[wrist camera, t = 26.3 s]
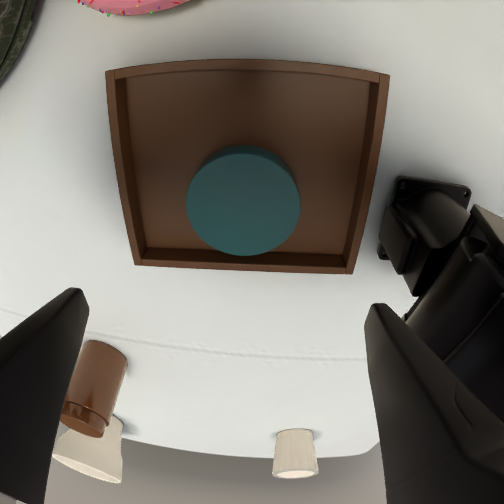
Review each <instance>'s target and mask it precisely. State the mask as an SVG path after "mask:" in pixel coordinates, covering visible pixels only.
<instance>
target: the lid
mask: <svg viewBox="0 0 504 504" xmlns="http://www.w3.org/2000/svg"><path fill="white" fill-rule="evenodd" d="M300 211H301V204H300V196H299V192H298V188H297V183H296V180H295V177H294V175H293V173H292V171H291V169H290V168H289V167H288V165H287V164H286V163H285V162H284V161H283V160H282V159H281V158H280V157H278V156H277V155H276V154H274V153H272V152H270V151H269V150H266V149H264V148H261V147H257V146H251V145H235V146H230V147H226V148H223V149H221V150H219V151H217V152H215V153H213V154H212V155H211V156H209V157H208V158H207V159H206V160H205V161H204V162H203V163H202V164H201V165H200V167H199V168H198V170H197V172H196V173H195V175H194V177H193V179H192V181H191V183H190V185H189V187H188V190H187V194H186V212H187V216H188V219H189V222H190V224H191V226H192V227H193V229H194V231H195V232H196V233H197V235H198V236H199V237H200V238H201V239H202V240H203V241H205V242H206V243H207V244H208V245H210V246H212V247H213V248H215V249H217V250H219V251H222V252H225V253H228V254H232V255H239V256H250V255H257V254H262V253H265V252H268V251H270V250H272V249H274V248H276V247H277V246H279V245H280V244H282V243H283V242H284V241H285V240H286V239H287V238H288V237H289V236H290V235H291V233H292V232H293V231H294V229H295V227H296V225H297V222H298V220H299V216H300Z"/></svg>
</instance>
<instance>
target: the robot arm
mask: <svg viewBox="0 0 504 504" xmlns="http://www.w3.org/2000/svg"><path fill="white" fill-rule="evenodd" d="M401 182H405V183H404V185H403V186H400V184H401ZM465 192H466V194H465V195H464V193H465ZM470 197H471V190H470V189H469V188H468V187H466V186H463V185H457V184H452V183H446V182H440V181H434V180H428V179H422V178H415V177H408V176H399V177H397V178H396V180H395V182H394V187H393V191H392V196H391V200H390V204H389V205H388V206H387V207H386V210H385V214H384V218H383V222H382V226H381V230H380V234H379V239H380V242H379V246H378V250H377V254H378V257H379V258H380V259H381V260H390V261H391V263H392V265H393V267H394V269H395V271H396V273H397V274H398V275H403V277H404V279H405V281H406V283H407V285H408V288H409V290H410V292H411V294H412V296H414V297H419V298H418V299H417V300H416V302H415V303H414V305H413V306H412V307H411V309H410V310H409V311H408V313H405V314H404V316H403V317H402V318H400V317H399V316H398V315H397V314H396V313H395V312H394V311H393V310H392V309H391V308H390V307H389V306H388V305H387V304H385V303H374V304H372V305H371V307H370V310H369V313H368V315H367V318H366V321H365V325H364V331H365V341H366V351H367V363H368V373H369V379H370V384H371V390H372V395H373V401H374V406H375V412H376V418H377V425H378V431H379V438H380V445H381V452H382V460H383V467H384V476H385V486H386V498H387V504H504V219H502V218H501V217H499V216H497V215H495V214H493V213H492V212H490V211H488V210H486V209H484V208H482V207H480V206H479V205H477V204H474V205H473V207H472V209H471V210H470V213H471V214H469V213H468V212H467V211H466V209H467V206H468V203H469V200H470ZM383 252H386V253H384V254H382V253H383ZM88 316H89V306H88V303H87V301H86V298H85V296H84V294H83V291H82V290H81V289H80V288H73V287H71V288H68V289H67V290H65V291H64V292H62V293H61V294H60V295H58V296H57V297H55V298H54V299H53V300H51V301H50V302H48V303H47V304H46V305H44V306H43V307H42V308H40V309H39V310H38V311H36V312H35V313H33V314H32V315H31V316H29V317H28V318H27V319H25V320H24V321H23V322H21V323H20V324H19V325H18V326H16V327H15V328H14V329H12V330H11V331H10V332H8V333H7V334H6V335H5V336H3V337H2V338H1V339H0V504H16V500H19V501H22V502H24V503H27V504H44V497H45V491H46V485H47V479H48V473H49V467H50V462H51V456H52V452H53V447H54V442H55V438H56V434H57V429H58V425H59V421H60V417H61V413H62V410H63V406H64V402H65V399H66V395H67V392H68V388H69V385H70V381H71V378H72V375H73V372H74V368H75V365H76V362H77V359H78V356H79V352H80V349H81V344H82V340H83V336H84V332H85V328H86V324H87V320H88Z"/></svg>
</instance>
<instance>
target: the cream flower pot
mask: <svg viewBox="0 0 504 504" xmlns="http://www.w3.org/2000/svg"><path fill="white" fill-rule="evenodd" d="M122 427H123V424H122V422H121V421H120V420H119V419H118V418H116V417H115V416H113V415H112V417H111V421H110V424H109V426H107V427H106V428H105V431H104V434H103V437H102V438H94V437H90V436H86V435H84V434H81V433H79V432H77V431H75V430H73V429H71V428H70V429H69V430H68V431H67V432H66V433H64V434H63V435H61V436H60V438H59V440H58V442H57V443H56V445H55V447H54V449H53V452H52V456H53V457H54V458H55V459H57V460H58V461H59V462H61V463H63V464H65V465H67V466H68V467H71V468H72V469H75V470H77V471H79V472H81V473H84V474H86V475H89V476H92V477H95V478H98V479H101V480H104V481H108V482H112V483H120V482H122V463H123V460H122V457H121V435H122Z"/></svg>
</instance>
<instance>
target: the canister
mask: <svg viewBox="0 0 504 504" xmlns="http://www.w3.org/2000/svg"><path fill="white" fill-rule="evenodd" d="M35 2H36V0H0V81H1V80H2V79H3V77H4V76H5V75H6V74H7V73H8V71H9V69H10V68H11V66H12V65H13V63H14V61H15V60H16V58H17V57H18V54H19V52H20V50H21V48H22V46H23V44H24V42H25V40H26V38H27V35H28V33H29V30H30V27H31V25H32V22H33V20H32V19H31V16H32V12H33V9H34V5H35Z"/></svg>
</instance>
